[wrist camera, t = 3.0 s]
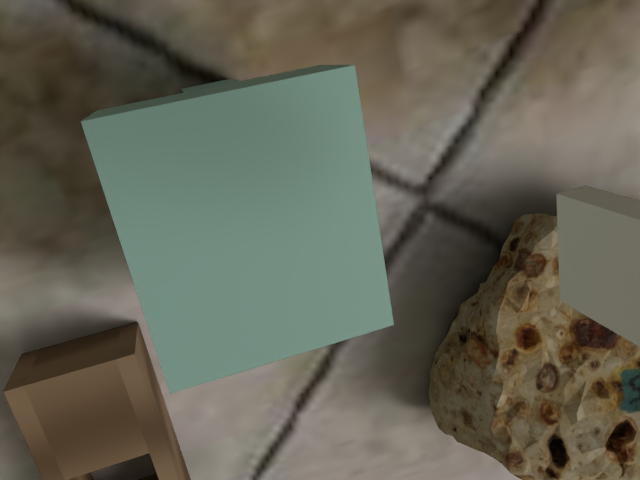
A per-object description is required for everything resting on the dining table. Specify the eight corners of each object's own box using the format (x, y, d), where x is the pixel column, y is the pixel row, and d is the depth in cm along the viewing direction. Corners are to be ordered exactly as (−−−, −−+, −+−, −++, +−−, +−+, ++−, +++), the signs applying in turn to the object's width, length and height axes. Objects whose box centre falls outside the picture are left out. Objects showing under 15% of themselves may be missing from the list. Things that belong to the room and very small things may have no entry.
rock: (401, 437, 32) (483, 536, 22) (435, 192, 32) (534, 183, 22) (694, 455, 36) (873, 544, 27) (727, 237, 36) (920, 246, 26)
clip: (106, 103, 22) (80, 121, 15) (298, 65, 23) (354, 65, 17) (168, 302, 25) (169, 393, 18) (333, 257, 27) (393, 324, 20)
